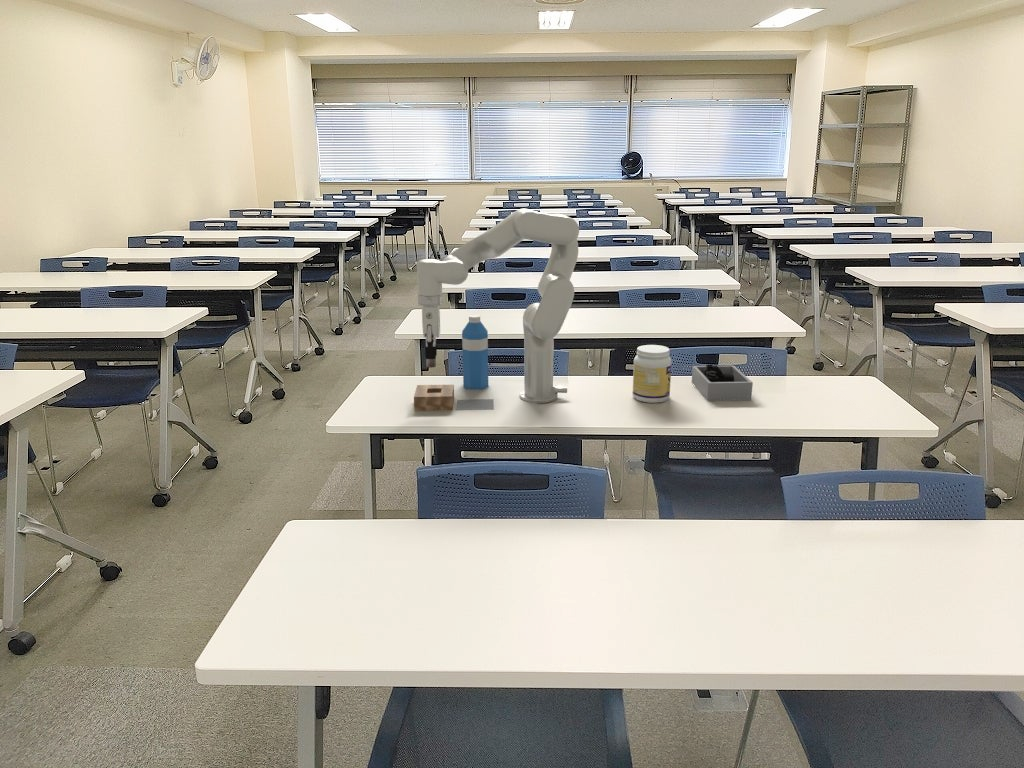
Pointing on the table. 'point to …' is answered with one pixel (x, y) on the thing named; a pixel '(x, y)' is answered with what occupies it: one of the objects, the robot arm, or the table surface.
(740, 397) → the tray
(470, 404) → the mat
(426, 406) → the socket block
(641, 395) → the supplement tub
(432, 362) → the peg
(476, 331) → the water bottle
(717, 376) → the film camera
